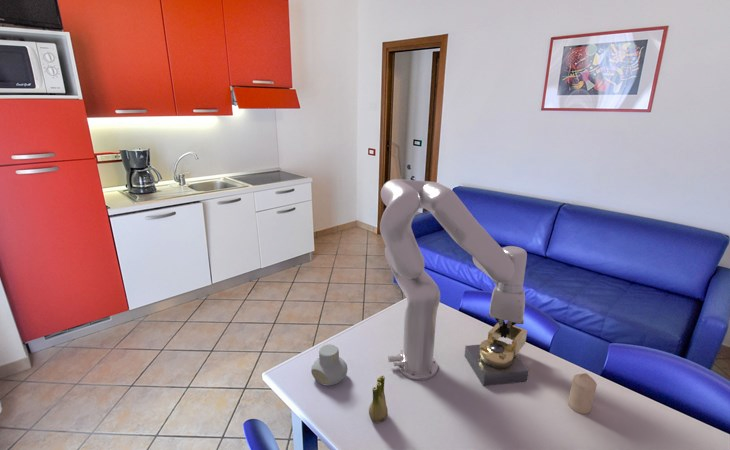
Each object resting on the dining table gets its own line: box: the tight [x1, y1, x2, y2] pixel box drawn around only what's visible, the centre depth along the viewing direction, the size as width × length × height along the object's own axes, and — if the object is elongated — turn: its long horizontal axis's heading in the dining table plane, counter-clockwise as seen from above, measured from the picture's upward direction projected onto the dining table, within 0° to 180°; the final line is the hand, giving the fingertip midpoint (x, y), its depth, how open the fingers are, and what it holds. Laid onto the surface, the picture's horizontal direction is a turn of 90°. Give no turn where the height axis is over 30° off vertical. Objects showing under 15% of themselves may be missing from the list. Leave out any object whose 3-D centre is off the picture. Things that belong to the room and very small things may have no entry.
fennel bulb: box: [368, 375, 388, 423], centre depth 96 cm, size 6×5×12 cm
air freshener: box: [311, 344, 348, 386], centre depth 111 cm, size 11×8×10 cm
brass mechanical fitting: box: [479, 321, 528, 368], centre depth 117 cm, size 18×10×5 cm, turn 138°
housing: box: [464, 341, 529, 387], centre depth 116 cm, size 14×14×4 cm
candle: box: [567, 372, 598, 415], centre depth 100 cm, size 6×6×10 cm
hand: (503, 335), depth 121 cm, fingers closed
